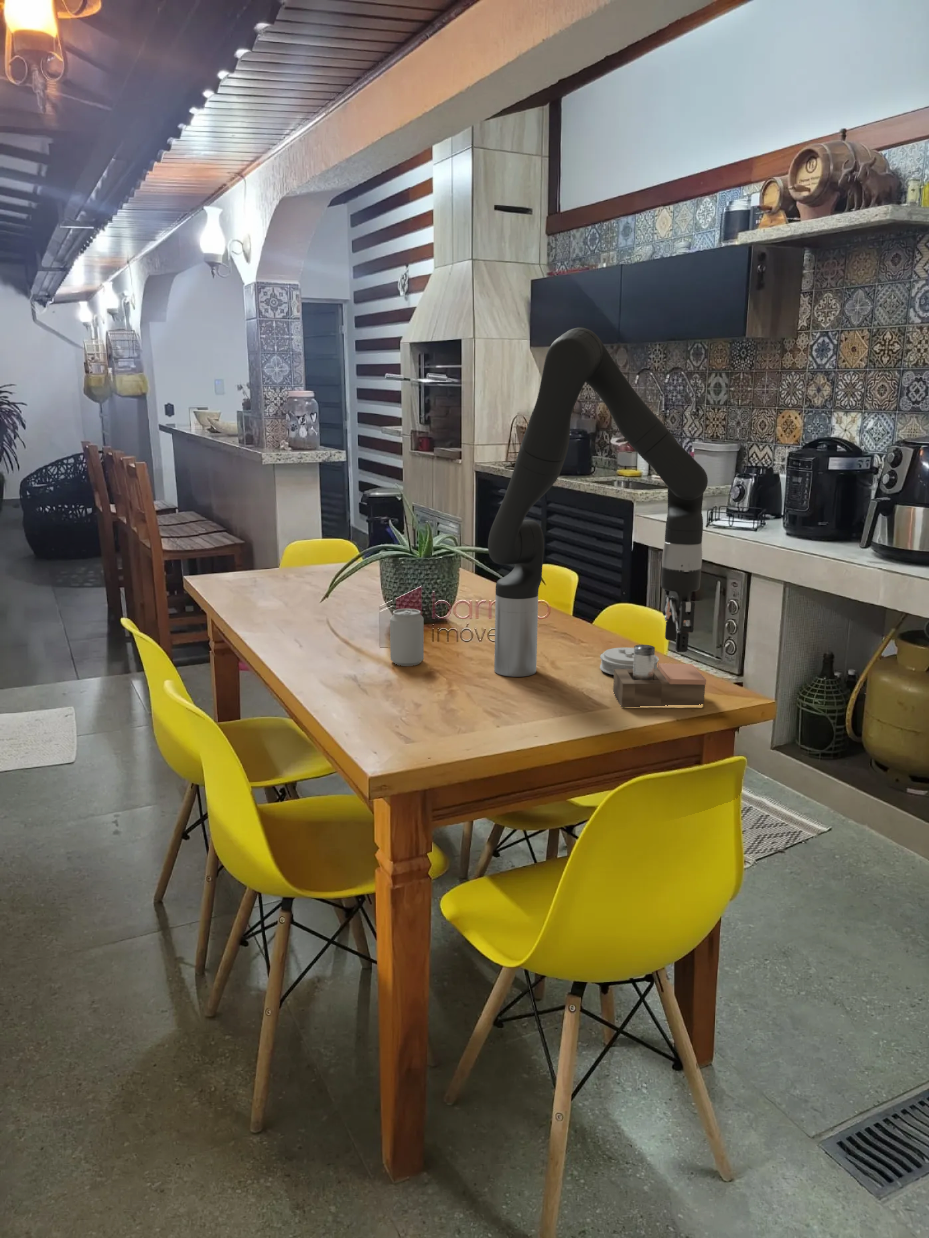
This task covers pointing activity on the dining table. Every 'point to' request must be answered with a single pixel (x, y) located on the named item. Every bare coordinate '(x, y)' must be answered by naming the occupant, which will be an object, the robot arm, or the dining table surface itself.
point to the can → (406, 637)
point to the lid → (619, 659)
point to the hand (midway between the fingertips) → (675, 645)
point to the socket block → (654, 691)
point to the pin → (643, 662)
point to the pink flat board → (681, 674)
